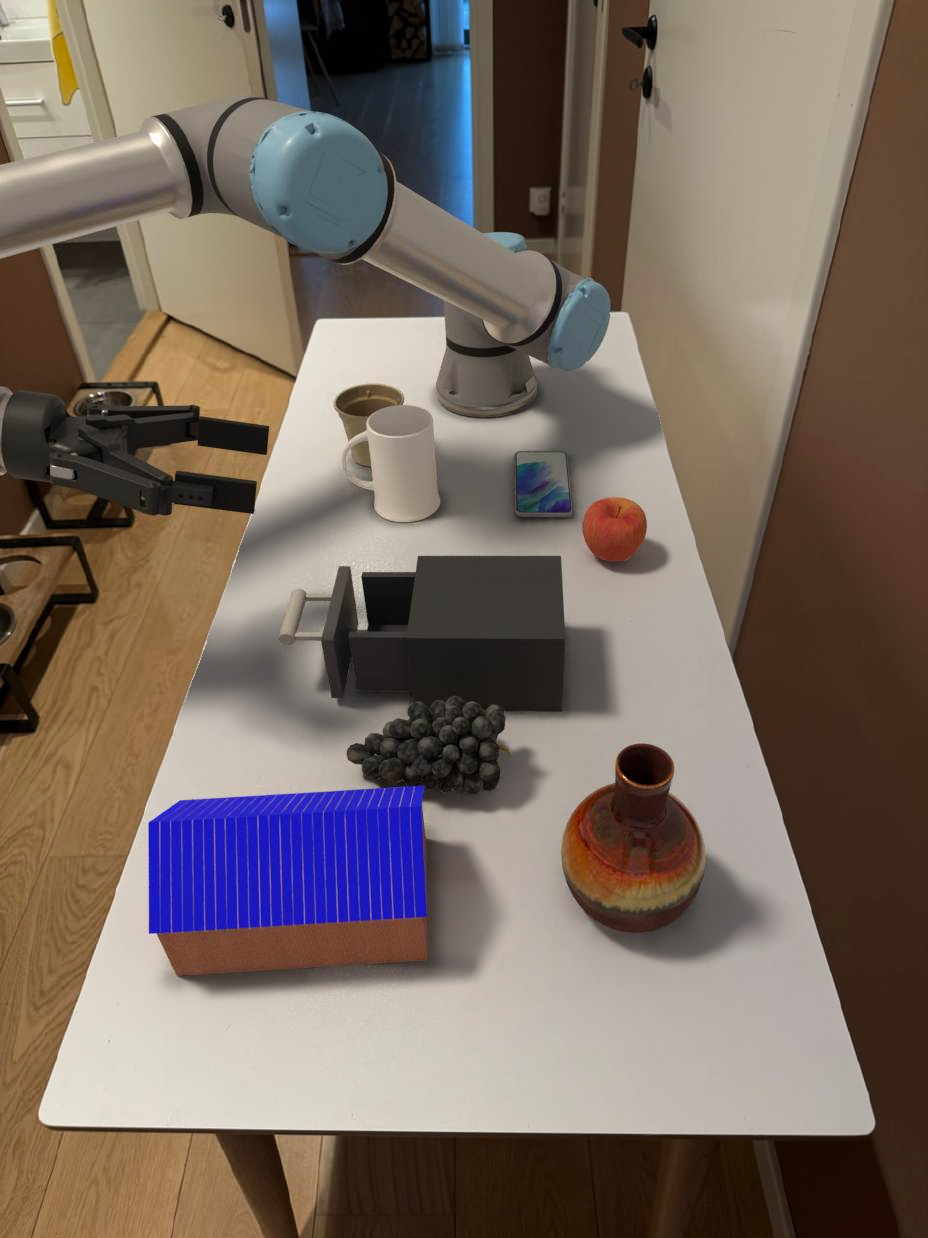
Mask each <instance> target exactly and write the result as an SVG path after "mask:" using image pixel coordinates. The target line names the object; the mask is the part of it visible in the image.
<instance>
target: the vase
mask: <svg viewBox="0 0 928 1238" xmlns="http://www.w3.org/2000/svg"><path fill="white" fill-rule="evenodd" d="M614 766H615V768H614V772H615V773H614V777H615V782H612V783H609V784H606V785H603V786H602V787H599V788H597V789H596V790H594V791H592V792H590V794H587V796H586V797H585V798H583V799H582V800H581V802H579V804H578V805H577V806H576V808H575V809H574V810H573V811H572V813H571V814H570V817H569V818H568V820H567V821H566V825H565V828H564V831H563V834H562V839H561V849H560V856H561V867H562V872H563V875H564V879H565V882H566V884H567V887H568V889H569V891H570V894H571V895H572V897H573V899H574V900H575V902H576V904H578V905H579V908H581V909H582V910H583V912H585V913H586V915H587V916H589V917H590V918H592V920H594V921H595V922H597V923H599V924H600V925H602V926H604V927H606V928H608V929H611V930H614V931H618V932H622V933H629V934H643V933H650V932H654V931H657V930H660V929H662V928H663V929H664V928H665V927H666V926H669V925H670V924H672V923H674V921H675V920H677V919H679V918H680V917H681V916H682V915H683V914H684V913H685V912H686V910H688V908H689V907H690V906H691V905H692V903H693V902H694V899H695V898H696V896H697V895H698V893H699V890H700V888H701V886H702V883H703V880H704V876H705V871H706V865H707V864H706V863H707V857H706V855H707V854H706V845H705V840H704V836H703V833H702V831H701V827H700V825H699V824H698V821H697V820H696V818H695V816H694V815H693V813H692V812H691V810H690V808H688V807H687V806H686V805H685V803H684V802H682V801H681V800H680V799H679V798H678V797H677V796H676V795H675V794H673V793H671V792H670V790H671V786H672V783H673V779H674V775H675V763H674V760H673V758H672V757H671V755H670V754H669V752H666V750H665V749H663V748H661V747H659V746H657V745H654V744H650V743H644V742H643V743H642V742H639V743H633V744H630V745H628V746H625V747H623V749H622V750H620V751H619V752H618V754H617V757H616V759H615V765H614Z"/></svg>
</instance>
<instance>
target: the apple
mask: <svg viewBox="0 0 928 1238" xmlns="http://www.w3.org/2000/svg"><path fill="white" fill-rule="evenodd" d="M583 515H584V516H583V518H582V523H581V524H582V525H581V528H582V529H581V530H582V536H583V539H584V542H585V544H586V546H587V548H588V549H589V550H590V552H591V553H592V554H593V555H594V556H595V557H596V558H598V559H600V560H602V561H606V562H625V561H627V560H629V559H630V558H632V556H634V555H635V554H636V553H637V552H638V551H639V549H640V547H642V545H643V543H644V540H645V538H646V535H647V532H648V531H647V530H648V520H647V515H646V513H645V511H644V509H642V507H641V506H640V504H638V503H636V502H635V501H633V500H631V499H629V498H625V497H619V496H612V497H604V498H601V499H598V500H595V501H594V502H593V503H591V504H590V506H589V507H588V508H587V510H586V511H585V513H584V514H583Z"/></svg>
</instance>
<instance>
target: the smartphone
mask: <svg viewBox="0 0 928 1238" xmlns="http://www.w3.org/2000/svg"><path fill="white" fill-rule="evenodd" d="M513 455H514V456H513V457H514V458H513V459H514V463H513V464H514V466H513V467H514V487H513V488H514V490H513V491H514V513H515V515H516V516H517V517H519V518H570V517H572V516H573V512H574V510H573V501H572V491H571V481H570V479H571V478H570V469H569V460H568V454H567V452H565V451H561V450H560V451H559V450H558V451H555V450H553V451H552V450H550V451H547V450H545V451H543V450H519V451H516V452H515V453H514V454H513Z"/></svg>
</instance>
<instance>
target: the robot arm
mask: <svg viewBox="0 0 928 1238" xmlns="http://www.w3.org/2000/svg"><path fill="white" fill-rule="evenodd" d="M166 213H168V214H170V215H171V216H173V217H174V218H176V219H179V220H183V219H188V218H191V217H195V216H198V215H199V216H200V215H204V214H205V215H206V214H221V215H222V214H223V215H228V216H234V217H238V218H240V219H242V220H244V221H246V222H249V223H251V224H253V225H255V226H257V227H259V228H260V229H263V230H266V231H268V232H269V233H270V232H271V233H272V234H274V235H275V236H276V235H277V236H279V237H281V238H283V239H284V241H287V242H288V243H290V244H292V245H293V246H295V247H298V248H300V249H302V250H305V251H308V252H312V253H314V254H316V255H318V256H320V257H323V258H325V259H327V260H329V261H331V262H333V263H336V264H338V265H342V266H343V265H345V266H346V265H353V264H356V263H358V262H359V261H361V260H363V261H365V262H366V263H369V264H371V265H372V266H375V267H377V268H379V269H380V270H383V271H385V272H386V273H389V274H390V275H393V276H395V277H397V278H399V279H401V280H403V281H405V282H407V283H409V284H411V285H413V286H415V287H417V288H419V289H421V290H423V291H425V292H427V293H429V294H431V295H433V296H435V297H437V298H439V299H441V300H442V301H443V312H444V313H443V314H444V331H445V351H444V354H443V356H442V361H441V365H440V368H439V371H438V376H437V379H436V383H435V387H436V389H435V390H436V398H437V401H438V403H439V404H440V405H441V406H442V407H444V408H445V409H446V410H448V411H449V412H453V413H455V414H458V415H462V416H466V417H474V418H495V417H502V416H507V415H511V414H514V413H518V412H520V411H522V410H524V409H525V408H527V407H529V406H530V405H531V404H532V403H533V402H534V401H535V399H536V397H537V395H538V391H537V390H538V379H537V376H536V373H535V370H534V366H533V364H532V362H531V358H533V359H535V360H538V361H540V362H542V363H544V364H546V365H548V367H550V368H551V369H555V370H557V369H558V370H561V371H564V372H573V371H576V370H578V369H580V368H582V367H583V366H584V365H585V364H586V363H587V362H589V361H591V359H592V358H593V357H594V356H595V354H596V353H597V351H598V350H599V349H600V347H601V345H602V343H603V341H604V338H605V336H606V334H607V331H608V328H609V325H610V320H611V306H612V305H611V300H610V295H609V292H608V291H607V289H606V288H605V287H604V285H602V284H601V283H599V282H596V281H595V279H594V278H592V277H584V276H581V275H578V273H577V274H576V273H575V272H572V271H570V270H568V269H567V268H565V267H563V266H561V264H558V263H557V262H555V261H554V260H552V259H550V258H549V257H547V256H545V255H543V254H542V253H540V252H539V251H536V250H529V249H528V246H527V243H526V238H525V237H524V236H523V235H521V234H519V233H515V232H508V231H507V232H506V231H494V232H484V233H483V232H481V231H480V230H477V228H474V227H473V226H471V225H470V224H468V223H466V222H465V221H463V220H461V218H460V219H459V217H456V216H455V215H453V214H451V213H450V212H448V211H446V210H445V209H443V208H441V207H440V206H438V205H436V204H435V203H433V202H432V201H430V200H428V199H427V198H425V197H424V196H421V195H420V194H418V193H417V192H415V191H413V190H412V189H410V188H408V186H405V185H403V184H402V183H400V182H399V181H397V176H396V172H395V169H394V165H393V164H392V162H391V161H390V160H389V159H388V157H387V156H385V154H383V153H382V152H380V151H378V150H377V149H376V147H375V146H374V144H373V143H372V142H371V140H369V138H368V137H367V136H366V135H365V134H364V133H362V132H361V131H360V130H359V129H357V128H355V126H353V125H352V124H350V123H349V122H348V121H345V120H344V119H341V118H340V117H338V116H335V115H332V114H330V113H327V112H322V111H321V112H320V111H313V110H308V109H304V108H301V107H298V106H294V105H291V104H287V103H283V102H281V101H277V100H273V99H270V98H266V97H263V96H257V95H253V94H252V95H249V94H247V95H246V94H245V95H236V96H235V95H234V96H227V97H222V98H218V99H214V100H211V101H206V102H202V103H199V104H194V105H190V106H187V107H183V108H180V109H175V110H172V111H169V112H165V113H160V114H156V115H152V116H148V117H146V118H144V119H143V121H142V123H141V124H140V127H139V130H138V131H136V132H132V133H128V134H123V135H119V136H114V137H110V138H106V139H102V140H98V141H94V142H89V143H86V144H82V145H77V146H74V147H73V146H72V147H69V148H65V149H61V150H57V151H51V152H48V153H44V154H40V155H36V156H31V157H28V158H24V159H19V160H14V161H11V162H6V163H3V164H0V260H1V259H4V258H8V257H12V256H16V255H19V254H22V253H26V252H30V251H34V250H37V249H40V248H43V247H48V246H51V245H55V244H58V243H61V242H64V241H68V240H69V241H70V240H73V239H75V238H79V237H84V236H87V235H91V234H93V233H97V232H101V231H104V230H108V229H112V228H116V227H119V226H122V225H127V224H130V223H133V222H137V221H141V220H144V219H147V218H151V217H155V216H158V215H162V214H166ZM530 357H531V358H530ZM86 405H87V407H86V408H87V409H86V410H87V411H86V413H87V415H86V416H73V415H71V414H70V413H69V412H68V410H67V406H66V403H65V401H64V400H63V398H62V397H60V396H59V395H57V394H51V393H45V392H38V391H31V390H23V389H18V390H16V391H15V392H12V391H11V389H10V388H8V387H6V386H0V476H4V475H5V474H7V473H8V474H9V475H10V476H11V477H12V478H14V479H21V480H28V481H36V482H37V481H38V482H44V483H50V484H51V485H52V486H56V487H57V486H58V487H62V488H68V489H73V490H78V491H82V492H84V493H87V494H88V495H89V494H90V495H92V496H95V497H98V498H100V499H104V500H106V501H109V502H112V503H114V504H118V505H120V506H123V507H126V508H128V509H131V510H134V511H137V512H140V513H142V514H145V515H149V516H158V515H159V516H170V515H172V513H173V505H179V506H187V507H194V508H202V509H203V508H204V509H209V510H217V511H227V512H234V513H243V514H250V515H254V514H255V511H256V510H255V509H256V496H257V487H258V486H257V483H258V481H257V480H252V479H245V478H237V477H230V476H223V475H216V474H215V475H214V474H206V473H199V472H192V471H183V470H176V471H175V473H174V478H173V475H171V474H169V473H167V472H165V471H163V470H161V469H160V468H157V467H155V466H154V465H152V464H150V463H148V462H146V461H144V460H142V459H141V458H140V459H139V458H138V457H136V456H134V455H133V454H135V453H136V451H137V450H138V449H145V448H152V447H160V446H166V445H174V444H182V443H187V442H196V441H197V445H196V446H197V447H204V448H210V449H220V450H226V451H233V452H241V453H248V454H254V455H255V454H256V455H263V456H267V455H268V448H269V434H270V425H266V424H265V425H264V424H260V423H259V424H257V423H250V422H244V421H238V420H237V421H236V420H230V419H222V418H217V417H209V416H202V415H201V407H200V406H199V405H196V404H190V405H189V404H187V405H106V404H98V403H97V404H96V403H90V404H86ZM142 498H143V499H142Z"/></svg>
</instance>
